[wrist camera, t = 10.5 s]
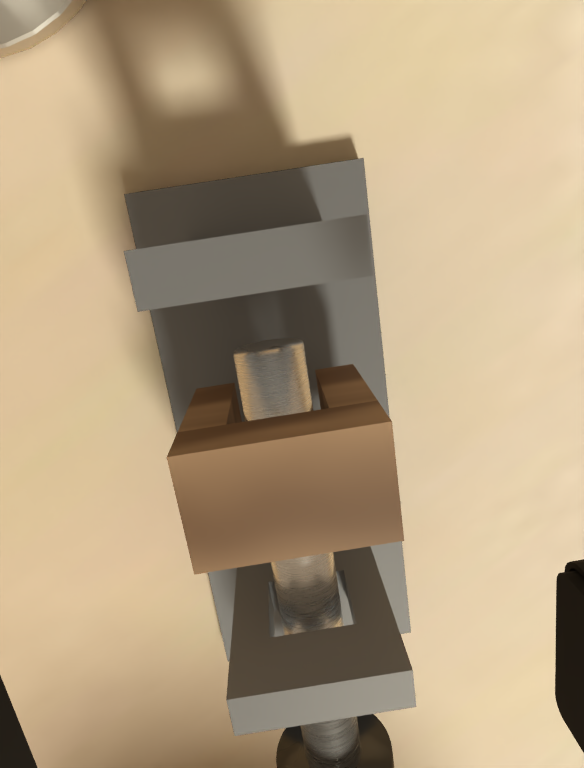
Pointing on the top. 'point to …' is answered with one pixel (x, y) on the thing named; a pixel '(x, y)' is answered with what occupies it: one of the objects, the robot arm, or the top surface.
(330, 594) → the shaft
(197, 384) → the grey bearing stand
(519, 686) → the top surface
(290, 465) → the block
